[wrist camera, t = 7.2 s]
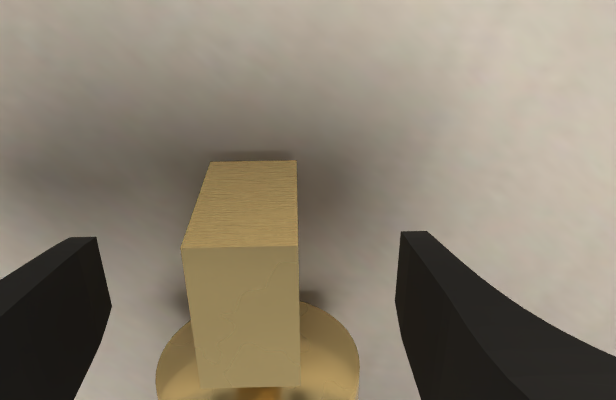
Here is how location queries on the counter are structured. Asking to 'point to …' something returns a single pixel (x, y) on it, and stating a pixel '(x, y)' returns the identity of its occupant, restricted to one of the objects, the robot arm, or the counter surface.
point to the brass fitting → (252, 299)
